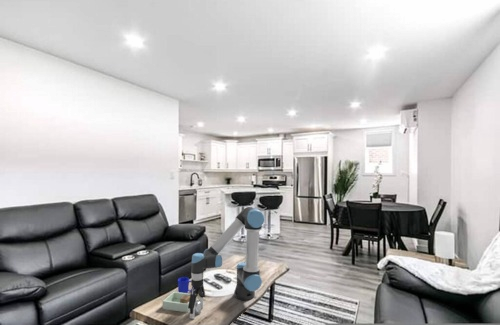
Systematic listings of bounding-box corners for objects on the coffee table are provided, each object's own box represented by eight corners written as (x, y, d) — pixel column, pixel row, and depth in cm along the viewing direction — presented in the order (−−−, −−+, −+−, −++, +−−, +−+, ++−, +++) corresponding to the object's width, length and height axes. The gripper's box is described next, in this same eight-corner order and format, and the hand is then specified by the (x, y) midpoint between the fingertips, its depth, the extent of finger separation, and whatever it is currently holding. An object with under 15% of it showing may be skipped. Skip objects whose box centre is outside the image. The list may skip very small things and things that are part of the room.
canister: (202, 311, 168) (202, 300, 168) (198, 315, 163) (198, 304, 164) (195, 310, 169) (195, 299, 170) (191, 314, 165) (191, 303, 165)
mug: (190, 296, 188) (191, 282, 189) (175, 294, 191) (175, 280, 191) (195, 291, 196) (195, 277, 197) (180, 289, 199) (180, 276, 199)
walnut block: (190, 303, 177) (190, 296, 177) (186, 307, 172) (186, 299, 172) (183, 302, 178) (184, 295, 178) (180, 306, 173) (180, 298, 174)
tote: (197, 302, 180) (197, 294, 181) (187, 312, 167) (187, 304, 167) (173, 298, 185) (173, 291, 185) (162, 308, 171) (162, 301, 171)
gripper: (200, 271, 180) (199, 302, 179) (182, 286, 156) (181, 322, 155) (210, 272, 178) (209, 304, 177) (194, 287, 154) (193, 324, 154)
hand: (196, 312), depth 166 cm, fingers open, 12 cm apart
